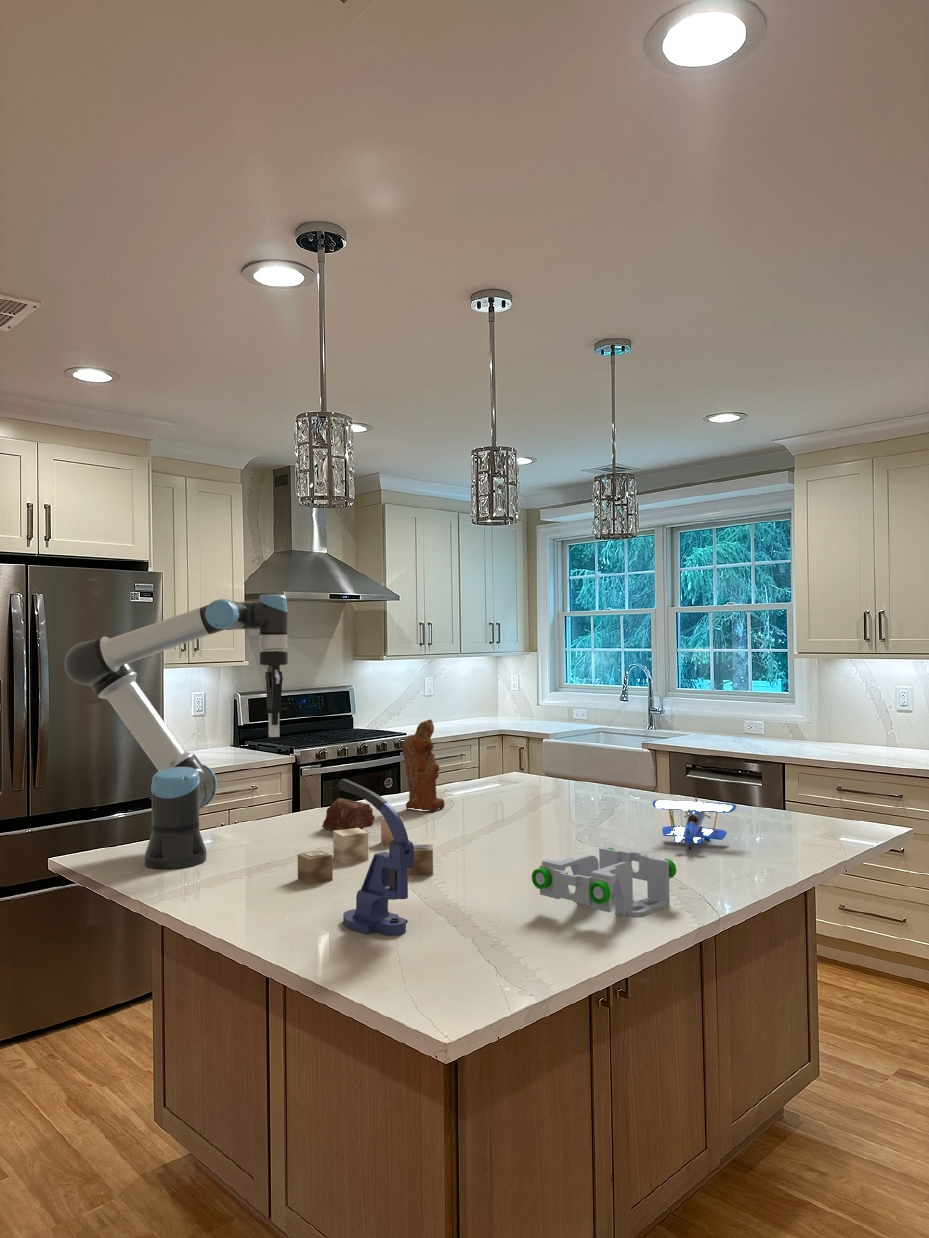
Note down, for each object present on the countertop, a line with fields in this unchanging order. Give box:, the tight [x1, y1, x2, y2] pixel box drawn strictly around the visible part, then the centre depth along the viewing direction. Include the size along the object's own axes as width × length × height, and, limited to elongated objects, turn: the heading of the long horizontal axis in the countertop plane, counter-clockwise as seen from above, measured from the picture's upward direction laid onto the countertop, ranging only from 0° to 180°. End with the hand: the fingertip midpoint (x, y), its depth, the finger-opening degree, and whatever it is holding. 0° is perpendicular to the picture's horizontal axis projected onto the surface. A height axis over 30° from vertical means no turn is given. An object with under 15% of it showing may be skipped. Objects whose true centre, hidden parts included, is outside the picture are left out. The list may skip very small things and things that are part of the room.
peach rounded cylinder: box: [380, 816, 404, 846], centre depth 241 cm, size 6×6×7 cm
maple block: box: [332, 828, 369, 864], centre depth 224 cm, size 7×7×7 cm
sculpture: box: [401, 719, 445, 812], centre depth 289 cm, size 13×9×30 cm
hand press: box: [338, 778, 414, 937], centre depth 171 cm, size 19×9×28 cm, turn 50°
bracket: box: [531, 847, 677, 917], centre depth 181 cm, size 19×25×10 cm
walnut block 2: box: [408, 843, 434, 877], centre depth 210 cm, size 6×6×6 cm
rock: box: [321, 797, 376, 832], centre depth 257 cm, size 18×6×9 cm, turn 55°
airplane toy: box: [652, 796, 738, 851], centre depth 236 cm, size 25×22×13 cm
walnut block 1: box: [297, 850, 334, 886], centre depth 204 cm, size 6×6×6 cm
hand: (274, 736), depth 237 cm, fingers closed
